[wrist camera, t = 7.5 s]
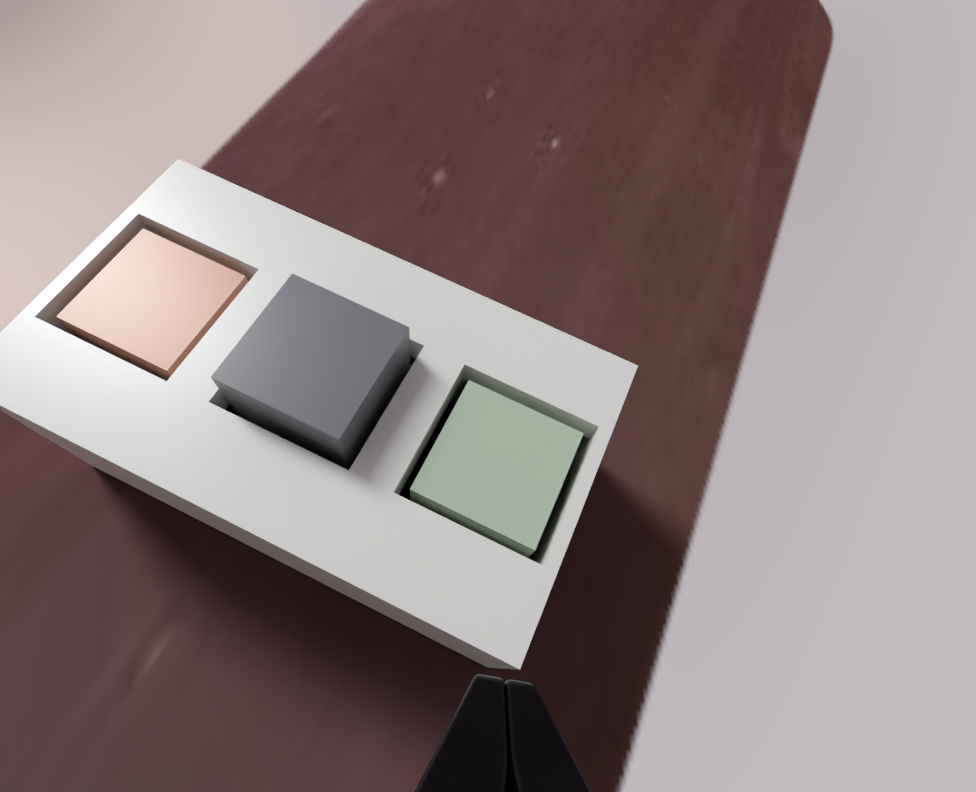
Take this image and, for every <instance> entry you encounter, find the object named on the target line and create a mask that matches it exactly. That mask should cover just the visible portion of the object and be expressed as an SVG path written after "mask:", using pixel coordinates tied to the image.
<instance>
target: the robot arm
mask: <svg viewBox="0 0 976 792" xmlns="http://www.w3.org/2000/svg"><path fill="white" fill-rule="evenodd" d="M415 792H591V790H590V788H589V786H588V784H587V782H586V780H585V778H584V777H583V775H582V773H581V771H580V769H579V767H578V765H577V763H576V761H575V760H574V758H573V756H572V754H571V752H570V750H569V748H568V746H567V744H566V742H565V741H564V739H563V737H562V735H561V733H560V731H559V729H558V727H557V725H556V724H555V722H554V720H553V718H552V716H551V714H550V712H549V710H548V708H547V707H546V705H545V703H544V701H543V699H542V697H541V695H540V693H539V691H538V690H537V688H536V686H535V685H534V684H532V683H529V682H523V681H517V680H511V679H509V680H507V681H505V683H504V681H503V679H502V678H499V677H493V676H488V675H482V674H477V675H476V676H475V677H474V678H473V680H472V682H471V684H470V686H469V687H468V689H467V691H466V693H465V695H464V697H463V699H462V701H461V703H460V705H459V707H458V709H457V711H456V713H455V715H454V717H453V719H452V721H451V722H450V724H449V726H448V728H447V730H446V732H445V734H444V736H443V738H442V740H441V742H440V744H439V746H438V748H437V750H436V752H435V754H434V756H433V757H432V759H431V761H430V763H429V765H428V767H427V769H426V771H425V773H424V775H423V777H422V779H421V781H420V783H419V785H418V787H417V789H416V791H415Z"/></svg>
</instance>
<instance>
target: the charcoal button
mask: <svg viewBox="0 0 976 792" xmlns="http://www.w3.org/2000/svg"><path fill="white" fill-rule="evenodd" d="M409 370H410V332H409V327H408V326H405V325H403V324H401V323H399V322H397V321H395V320H392V319H390V318H388V317H386V316H384V315H382V314H379V313H377V312H375V311H373V310H371V309H368V308H366V307H364V306H362V305H360V304H358V303H355V302H353V301H351V300H349V299H347V298H345V297H342V296H340V295H338V294H336V293H334V292H332V291H329V290H327V289H325V288H323V287H321V286H319V285H316V284H314V283H312V282H310V281H308V280H306V279H303V278H301V277H299V276H297V275H295V274H293V273H292V274H291V276H290V277H289V278H288V279H287V281H286V282H285V283H284V285H283V286H282V287H281V288H280V290H279V291H278V292H277V293H276V295H275V296H274V297H273V299H272V300H271V301H270V302H269V304H268V305H267V306H266V307H265V309H264V310H263V311H262V313H261V314H260V315H259V316H258V318H257V319H256V320H255V321H254V323H253V324H252V325H251V327H250V328H249V329H248V330H247V332H246V333H245V334H244V335H243V337H242V338H241V339H240V341H239V342H238V343H237V344H236V346H235V347H234V348H233V349H232V351H231V352H230V353H229V355H228V356H227V357H226V358H225V360H224V361H223V362H222V363H221V365H220V366H219V367H218V369H217V370H216V371H215V372H214V374H213V375H212V376H211V378H212V380H213V381H214V383H215V384H216V385H217V387H218V388H219V389H220V391H221V392H222V394H223V395H224V396H225V398H226V399H227V400H228V402H229V403H230V405H231V406H232V407H233V409H234V410H235V411H236V413H237V414H238V415H239V416H241V417H243V418H245V419H247V420H249V421H251V422H253V423H255V424H257V425H259V426H261V427H264V428H266V429H268V430H270V431H272V432H274V433H276V434H278V435H280V436H282V437H284V438H286V439H288V440H290V441H292V442H294V443H296V444H298V445H300V446H302V447H304V448H306V449H308V450H311V451H313V452H315V453H317V454H319V455H321V456H323V457H325V458H327V459H329V460H331V461H333V462H335V463H337V464H339V465H341V466H343V467H345V468H347V469H350V468H351V466H352V464H353V463H354V461H355V459H356V458H357V456H358V454H359V453H360V451H361V449H362V448H363V446H364V445H365V443H366V441H367V440H368V438H369V436H370V435H371V433H372V431H373V430H374V428H375V426H376V425H377V423H378V421H379V420H380V418H381V416H382V415H383V413H384V411H385V410H386V408H387V406H388V405H389V403H390V401H391V400H392V398H393V396H394V395H395V393H396V391H397V390H398V388H399V386H400V385H401V383H402V381H403V380H404V378H405V377H406V375H407V373H408V372H409Z"/></svg>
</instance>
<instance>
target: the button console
mask: <svg viewBox="0 0 976 792" xmlns="http://www.w3.org/2000/svg"><path fill="white" fill-rule="evenodd" d="M142 229H146V230H148V231H150V232H152V233H154V234H156V235H159V236H161V237H163V238H165V239H167V240H169V241H171V242H174V243H176V244H178V245H180V246H182V247H184V248H186V249H189V250H191V251H193V252H195V253H197V254H199V255H202V256H204V257H206V258H208V259H210V260H212V261H214V262H217V263H219V264H221V265H223V266H225V267H227V268H229V269H232V270H234V271H236V272H238V273H240V274H242V275H245V276H246V278H247V280H248V283H247V284H246V285H245V287H244V288H243V289H242V290H241V291H240V293H239V294H238V295H237V296H236V298H235V299H234V300H233V301H232V302H231V304H230V305H229V306H228V307H227V308H226V310H225V311H224V312H223V313H222V315H221V316H220V317H219V318H218V319H217V321H216V322H215V323H214V324H213V325H212V327H211V328H210V329H209V330H208V332H207V333H206V334H205V335H204V336H203V338H202V339H201V340H200V341H199V342H198V344H197V345H196V346H195V347H194V349H193V350H192V351H191V352H190V353H189V355H188V356H187V357H186V358H185V359H184V361H183V362H182V363H181V364H180V366H179V367H178V368H177V369H176V370H175V372H174V373H173V374H172V375H171V376H170V378H169V379H168V380H167V381H165V380H163V379H161V378H159V377H157V376H155V375H153V374H151V373H149V372H147V371H145V370H143V369H141V368H138V367H136V366H134V365H132V364H130V363H128V362H126V361H124V360H122V359H120V358H118V357H116V356H114V355H112V354H110V353H108V352H106V351H104V350H102V349H100V348H98V347H96V346H94V345H91V344H89V343H87V342H85V341H83V340H81V339H79V338H78V337H77V336H76V335H75V334H73V333H72V332H71V331H70V330H69V329H68V328H67V327H66V326H65V325H64V324H63V323H62V322H61V321H60V320H59V319H58V318H57V317H56V316H57V315H58V314H59V313H60V312H61V311H62V310H63V309H64V308H65V307H66V306H67V305H68V304H69V303H70V302H71V301H72V300H73V299H74V298H75V297H76V296H77V295H78V294H79V293H80V292H81V291H82V290H83V289H84V288H85V287H86V286H87V285H88V284H89V282H90V281H91V280H92V279H93V278H94V277H95V276H96V275H97V274H98V273H99V272H100V271H101V270H102V269H103V268H104V267H105V266H106V265H107V264H108V263H109V262H110V261H111V260H112V259H113V258H114V257H115V256H116V255H117V254H118V253H119V252H120V251H121V250H122V249H123V248H124V247H125V246H126V245H127V244H128V243H129V242H130V241H131V240H132V239H133V238H134V237H135V236H136V235H137V234H138V233H139V232H140V231H141V230H142ZM292 273H293V274H295V275H297V276H299V277H301V278H303V279H306V280H308V281H310V282H312V283H314V284H316V285H319V286H321V287H323V288H325V289H327V290H329V291H332V292H334V293H336V294H338V295H340V296H342V297H345V298H347V299H349V300H351V301H353V302H355V303H358V304H360V305H362V306H364V307H366V308H368V309H371V310H373V311H375V312H377V313H379V314H382V315H384V316H386V317H388V318H390V319H392V320H395V321H397V322H399V323H401V324H403V325H405V326H408V327H409V332H410V370H409V372H408V373H407V375H406V377H405V378H404V380H403V381H402V383H401V385H400V386H399V388H398V390H397V391H396V393H395V395H394V396H393V398H392V400H391V401H390V403H389V405H388V406H387V408H386V410H385V411H384V413H383V415H382V416H381V418H380V420H379V421H378V423H377V425H376V426H375V428H374V430H373V431H372V433H371V435H370V436H369V438H368V440H367V441H366V443H365V445H364V446H363V448H362V449H361V451H360V453H359V454H358V456H357V458H356V459H355V461H354V463H353V464H352V466H351V468H350V469H349V470H347V469H345V468H343V467H341V466H339V465H337V464H335V463H333V462H330V461H328V460H326V459H324V458H322V457H320V456H318V455H316V454H314V453H312V452H310V451H308V450H306V449H304V448H302V447H300V446H298V445H296V444H294V443H292V442H290V441H288V440H286V439H284V438H281V437H279V436H277V435H275V434H273V433H271V432H269V431H267V430H265V429H263V428H261V427H259V426H257V425H255V424H253V423H251V422H249V421H247V420H245V419H243V418H241V417H239V416H237V415H234V414H232V413H230V412H228V411H226V408H227V407H228V406H229V404H230V403H229V402H228V400H227V399H226V398H225V396H224V395H223V394H222V392H221V391H220V389H219V388H218V387H217V385H216V384H215V383H214V381H213V380H212V378H211V376H212V375H213V374H214V372H215V371H216V370H217V369H218V367H219V366H220V365H221V363H222V362H223V361H224V360H225V358H226V357H227V356H228V355H229V353H230V352H231V351H232V349H233V348H234V347H235V346H236V344H237V343H238V342H239V341H240V339H241V338H242V337H243V335H244V334H245V333H246V332H247V330H248V329H249V328H250V327H251V325H252V324H253V323H254V321H255V320H256V319H257V318H258V316H259V315H260V314H261V313H262V311H263V310H264V309H265V307H266V306H267V305H268V304H269V302H270V301H271V300H272V299H273V297H274V296H275V295H276V293H277V292H278V291H279V290H280V288H281V287H282V286H283V285H284V283H285V282H286V281H287V279H288V278H289V277H290V276H291V274H292ZM637 367H638V365H635V364H633V363H631V362H629V361H626V360H624V359H622V358H620V357H618V356H615V355H613V354H611V353H609V352H606V351H604V350H602V349H600V348H598V347H595V346H593V345H591V344H589V343H586V342H584V341H582V340H580V339H578V338H575V337H573V336H571V335H569V334H566V333H564V332H562V331H560V330H558V329H555V328H553V327H551V326H549V325H546V324H544V323H542V322H540V321H538V320H535V319H533V318H531V317H529V316H526V315H524V314H522V313H520V312H518V311H515V310H513V309H511V308H509V307H506V306H504V305H502V304H500V303H498V302H495V301H493V300H491V299H489V298H486V297H484V296H482V295H480V294H478V293H475V292H473V291H471V290H469V289H466V288H464V287H462V286H460V285H458V284H455V283H453V282H451V281H449V280H446V279H444V278H442V277H440V276H438V275H435V274H433V273H431V272H429V271H426V270H424V269H422V268H420V267H418V266H415V265H413V264H411V263H409V262H406V261H404V260H402V259H400V258H398V257H395V256H393V255H391V254H389V253H386V252H384V251H382V250H380V249H378V248H375V247H373V246H371V245H369V244H366V243H364V242H362V241H360V240H358V239H355V238H353V237H351V236H349V235H346V234H344V233H342V232H340V231H338V230H335V229H333V228H331V227H329V226H326V225H324V224H322V223H320V222H318V221H315V220H313V219H311V218H309V217H306V216H304V215H302V214H300V213H298V212H295V211H293V210H291V209H289V208H286V207H284V206H282V205H280V204H278V203H275V202H273V201H271V200H269V199H266V198H264V197H262V196H260V195H258V194H255V193H253V192H251V191H249V190H246V189H244V188H242V187H240V186H238V185H235V184H233V183H231V182H229V181H226V180H224V179H222V178H220V177H218V176H215V175H213V174H211V173H209V172H206V171H204V170H202V169H200V168H198V167H195V166H193V165H190V164H188V163H186V162H184V161H182V160H180V159H178V160H177V161H176V162H175V163H174V164H173V165H172V166H171V167H169V169H167V170H166V171H165V172H164V173H163V174H162V175H161V176H160V177H159V178H158V179H157V180H156V181H155V182H154V183H153V184H152V185H151V186H150V187H149V188H148V189H147V190H146V191H145V192H144V193H143V194H142V195H141V196H140V197H139V198H138V199H137V200H136V201H135V202H134V203H133V204H131V206H129V207H128V208H127V210H125V211H124V212H123V213H122V214H121V215H120V216H119V217H118V218H117V219H116V220H115V221H114V222H113V223H112V224H111V225H110V226H109V227H108V228H107V229H106V230H105V231H104V232H103V233H102V234H101V235H100V236H99V237H98V238H97V239H96V240H95V241H94V242H92V244H90V245H89V246H88V247H87V248H86V249H85V250H84V251H83V252H82V253H81V254H80V255H79V256H78V257H77V258H76V259H75V260H74V261H73V262H72V263H71V264H70V265H69V266H68V267H67V268H66V269H65V270H64V271H63V272H62V273H61V274H60V275H59V276H58V277H57V278H56V279H55V280H53V282H51V283H50V284H49V285H48V286H47V287H46V288H45V289H44V290H43V291H42V292H41V293H40V294H39V295H38V296H37V297H36V298H35V299H34V300H33V301H32V302H31V303H30V304H29V305H28V306H27V307H26V308H25V309H24V310H23V311H22V312H21V313H20V314H19V315H18V316H17V317H16V318H15V319H13V320H12V321H11V323H9V324H8V325H7V326H6V327H5V328H4V329H3V330H2V331H1V332H0V410H1V411H2V412H4V413H6V414H7V415H9V416H11V417H12V418H14V419H16V420H17V421H19V422H21V423H22V424H24V425H26V426H27V427H29V428H31V429H32V430H34V431H35V432H37V433H39V434H40V435H42V436H44V437H45V438H47V439H49V440H50V441H52V442H54V443H55V444H57V445H59V446H60V447H62V448H64V449H65V450H67V451H69V452H70V453H72V454H73V455H75V456H77V457H78V458H80V459H82V460H83V461H85V462H87V463H88V464H90V465H92V466H94V467H96V468H98V469H100V470H101V471H103V472H105V473H107V474H109V475H111V476H113V477H115V478H117V479H119V480H121V481H123V482H125V483H127V484H129V485H131V486H133V487H135V488H137V489H139V490H141V491H143V492H145V493H146V494H148V495H150V496H152V497H154V498H156V499H158V500H160V501H162V502H164V503H166V504H168V505H170V506H172V507H174V508H176V509H178V510H180V511H182V512H184V513H186V514H188V515H190V516H192V517H193V518H195V519H197V520H199V521H201V522H203V523H205V524H207V525H209V526H211V527H213V528H215V529H217V530H219V531H221V532H223V533H225V534H227V535H229V536H231V537H233V538H235V539H237V540H238V541H240V542H242V543H244V544H246V545H248V546H250V547H252V548H254V549H256V550H258V551H260V552H262V553H264V554H266V555H268V556H270V557H272V558H274V559H276V560H278V561H280V562H282V563H284V564H285V565H287V566H289V567H291V568H293V569H295V570H297V571H299V572H301V573H303V574H305V575H307V576H309V577H311V578H313V579H315V580H317V581H319V582H321V583H323V584H325V585H327V586H329V587H331V588H332V589H334V590H336V591H338V592H340V593H342V594H344V595H346V596H348V597H350V598H352V599H354V600H356V601H358V602H360V603H362V604H364V605H366V606H368V607H370V608H372V609H374V610H376V611H377V612H379V613H381V614H383V615H385V616H387V617H389V618H391V619H393V620H395V621H397V622H399V623H401V624H403V625H405V626H407V627H409V628H411V629H413V630H415V631H417V632H419V633H421V634H423V635H424V636H426V637H428V638H430V639H432V640H434V641H436V642H438V643H440V644H442V645H444V646H446V647H448V648H450V649H452V650H454V651H456V652H458V653H460V654H462V655H464V656H466V657H468V658H470V659H471V660H473V661H475V662H477V663H479V664H481V665H483V666H485V667H488V668H502V669H517V670H520V668H521V666H522V663H523V661H524V658H525V656H526V653H527V650H528V648H529V645H530V643H531V640H532V638H533V635H534V632H535V630H536V627H537V625H538V622H539V619H540V617H541V614H542V612H543V609H544V607H545V604H546V601H547V599H548V596H549V594H550V591H551V589H552V586H553V583H554V581H555V578H556V576H557V573H558V571H559V568H560V565H561V563H562V560H563V558H564V555H565V553H566V550H567V547H568V545H569V542H570V540H571V537H572V535H573V532H574V529H575V527H576V524H577V522H578V519H579V516H580V514H581V511H582V509H583V506H584V504H585V501H586V498H587V496H588V493H589V491H590V488H591V486H592V483H593V480H594V478H595V475H596V473H597V470H598V468H599V465H600V462H601V460H602V457H603V455H604V452H605V450H606V447H607V444H608V442H609V439H610V437H611V434H612V431H613V429H614V426H615V424H616V421H617V419H618V416H619V413H620V411H621V408H622V406H623V403H624V401H625V398H626V395H627V393H628V390H629V388H630V385H631V383H632V380H633V377H634V375H635V372H636V370H637ZM469 380H470V381H473V382H475V383H477V384H479V385H481V386H483V387H485V388H488V389H490V390H492V391H494V392H496V393H498V394H500V395H503V396H505V397H507V398H509V399H511V400H513V401H516V402H518V403H520V404H522V405H524V406H526V407H528V408H531V409H533V410H535V411H537V412H539V413H541V414H544V415H546V416H548V417H550V418H552V419H554V420H556V421H559V422H561V423H563V424H565V425H567V426H569V427H571V428H574V429H576V430H578V431H580V432H582V433H584V434H583V436H582V439H581V441H580V444H579V446H578V448H577V451H576V453H575V456H574V458H573V461H572V463H571V465H570V468H569V470H568V473H567V475H566V477H565V480H564V482H563V485H562V487H561V490H560V492H559V494H558V497H557V499H556V502H555V504H554V507H553V509H552V511H551V514H550V516H549V519H548V521H547V523H546V526H545V528H544V531H543V533H542V536H541V538H540V540H539V543H538V545H537V548H536V550H535V551H534V552H533V553H532V554H531V555H530V556H529V557H528V558H527V557H525V556H523V555H520V554H518V553H516V552H514V551H512V550H510V549H508V548H506V547H504V546H502V545H500V544H498V543H496V542H494V541H492V540H490V539H488V538H486V537H484V536H482V535H480V534H478V533H476V532H473V531H471V530H469V529H467V528H465V527H463V526H461V525H459V524H457V523H455V522H453V521H451V520H449V519H447V518H445V517H443V516H441V515H439V514H437V513H435V512H433V511H431V510H429V509H426V508H424V507H422V506H420V505H418V504H416V503H414V502H412V501H410V500H408V499H406V498H404V497H402V496H400V495H399V494H400V492H401V490H402V489H403V487H404V485H405V483H406V481H407V479H408V478H409V476H410V474H411V472H412V470H413V469H414V467H415V465H416V463H417V461H418V459H419V458H420V456H421V454H422V452H423V450H424V448H425V447H426V445H427V443H428V441H429V439H430V438H431V436H432V434H433V432H434V430H435V428H436V427H437V425H438V423H439V421H440V419H441V417H442V416H443V414H444V412H445V410H446V408H447V406H448V405H449V403H450V401H453V402H455V403H457V401H458V399H459V397H460V395H461V394H462V392H463V390H464V388H465V386H466V384H467V382H468V381H469Z"/></svg>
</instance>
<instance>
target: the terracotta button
mask: <svg viewBox="0 0 976 792" xmlns="http://www.w3.org/2000/svg"><path fill="white" fill-rule="evenodd" d="M247 283H248V280H247V278H246V276H245V275H242V274H240V273H238V272H236V271H234V270H232V269H229V268H227V267H225V266H223V265H221V264H219V263H217V262H214V261H212V260H210V259H208V258H206V257H204V256H202V255H199V254H197V253H195V252H193V251H191V250H189V249H186V248H184V247H182V246H180V245H178V244H176V243H174V242H171V241H169V240H167V239H165V238H163V237H161V236H159V235H156V234H154V233H152V232H150V231H148V230H146V229H142V230H141V231H140V232H139V233H138V234H137V235H136V236H135V237H134V238H133V239H132V240H131V241H130V242H129V243H128V244H127V245H126V246H125V247H124V248H123V249H122V250H121V251H120V252H119V253H118V254H117V255H116V256H115V257H114V258H113V259H112V260H111V261H110V262H109V263H108V264H107V265H106V266H105V267H104V268H103V269H102V270H101V271H100V272H99V273H98V274H97V275H96V276H95V277H94V278H93V279H92V280H91V281H90V282H89V284H88V285H87V286H86V287H85V288H84V289H83V290H82V291H81V292H80V293H79V294H78V295H77V296H76V297H75V298H74V299H73V300H72V301H71V302H70V303H69V304H68V305H67V306H66V307H65V308H64V309H63V310H62V311H61V312H60V313H59V314H58V315H57V316H56V317H57V318H58V319H59V320H60V321H61V322H62V323H63V324H64V325H65V326H66V327H67V328H68V329H69V330H70V331H71V332H72V333H73V334H75V335H76V336H77V337H78V338H79V339H81V340H83V341H85V342H87V343H89V344H91V345H94V346H96V347H98V348H100V349H102V350H104V351H106V352H108V353H110V354H112V355H114V356H116V357H118V358H120V359H122V360H124V361H126V362H128V363H130V364H132V365H134V366H136V367H138V368H141V369H143V370H145V371H147V372H149V373H151V374H153V375H155V376H157V377H159V378H161V379H163V380H165V381H167V380H168V379H169V378H170V376H171V375H172V374H173V373H174V372H175V370H176V369H177V368H178V367H179V366H180V364H181V363H182V362H183V361H184V359H185V358H186V357H187V356H188V355H189V353H190V352H191V351H192V350H193V349H194V347H195V346H196V345H197V344H198V342H199V341H200V340H201V339H202V338H203V336H204V335H205V334H206V333H207V332H208V330H209V329H210V328H211V327H212V325H213V324H214V323H215V322H216V321H217V319H218V318H219V317H220V316H221V315H222V313H223V312H224V311H225V310H226V308H227V307H228V306H229V305H230V304H231V302H232V301H233V300H234V299H235V298H236V296H237V295H238V294H239V293H240V291H241V290H242V289H243V288H244V287H245V285H246V284H247Z"/></svg>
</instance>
